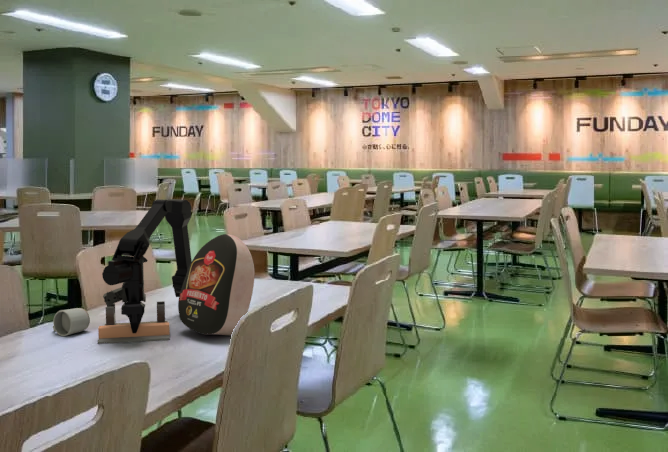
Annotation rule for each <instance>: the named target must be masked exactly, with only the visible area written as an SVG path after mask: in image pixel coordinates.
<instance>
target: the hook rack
mask: <svg viewBox="0 0 668 452" xmlns="http://www.w3.org/2000/svg"><path fill="white" fill-rule="evenodd" d="M165 302H166V301H165V300H163V301H156V320H155V321H141V322H140V324H146V323H166V322H169V321H168V320H166V303H165ZM126 324H130V322H116V303H114V304H112V305H110V306H107V305H106V306H105V323H104V325H103V326H107V325H126Z"/></svg>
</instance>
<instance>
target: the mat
mask: <svg viewBox="0 0 668 452" xmlns="http://www.w3.org/2000/svg"><path fill="white" fill-rule="evenodd" d="M169 331H170V328H169ZM170 338H171V336H170V335H156V336H137V337H118V338H100V339H99V338H97V344H98V345H100V344H101V345H102V344H105V345H106V344H119V343H120V344H121V343H123V344H124V343H137V342H139V343H141V342H157V341H170V340H171V339H170Z"/></svg>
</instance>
